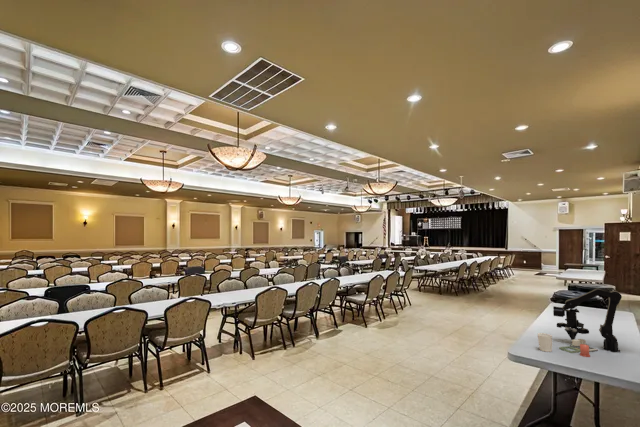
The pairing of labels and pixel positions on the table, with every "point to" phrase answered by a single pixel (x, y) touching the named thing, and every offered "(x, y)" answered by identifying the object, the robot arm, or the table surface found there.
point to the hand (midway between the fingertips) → (573, 340)
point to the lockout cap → (584, 350)
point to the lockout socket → (569, 350)
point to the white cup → (545, 342)
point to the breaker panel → (589, 348)
